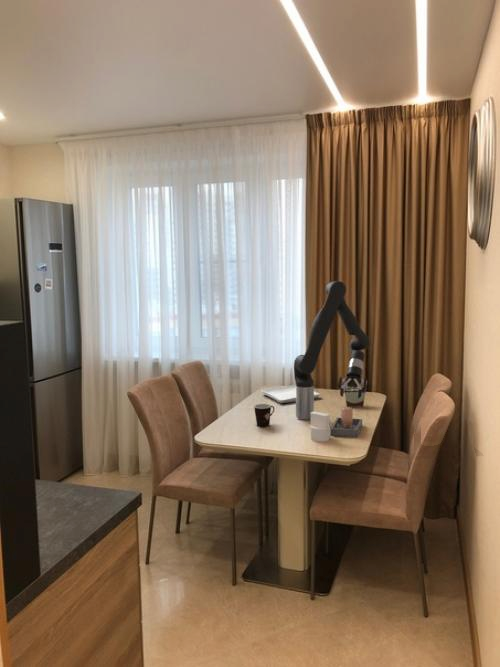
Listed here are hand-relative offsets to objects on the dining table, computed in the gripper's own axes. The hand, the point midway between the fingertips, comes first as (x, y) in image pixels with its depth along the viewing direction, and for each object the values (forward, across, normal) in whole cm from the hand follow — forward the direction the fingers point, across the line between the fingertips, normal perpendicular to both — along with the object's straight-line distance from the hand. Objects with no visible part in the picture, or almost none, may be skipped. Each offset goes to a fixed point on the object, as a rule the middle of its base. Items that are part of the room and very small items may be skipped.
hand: (350, 396), depth 272 cm
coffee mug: (+19, -41, +2) cm, 45 cm away
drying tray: (+16, 0, +4) cm, 17 cm away
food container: (-15, -6, +36) cm, 39 cm away
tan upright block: (+16, 0, +4) cm, 16 cm away
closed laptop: (-20, -47, +42) cm, 66 cm away
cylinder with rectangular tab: (+27, -9, -6) cm, 29 cm away
